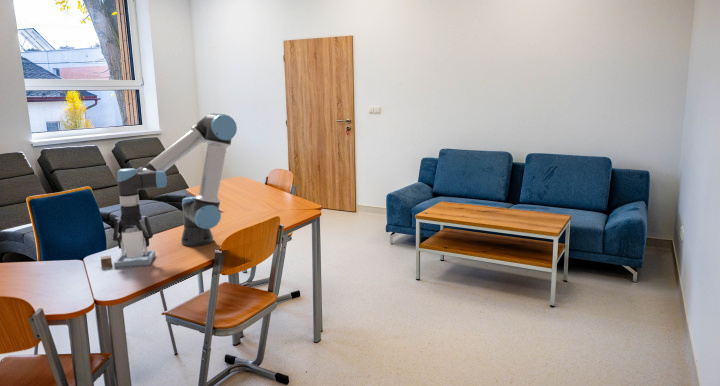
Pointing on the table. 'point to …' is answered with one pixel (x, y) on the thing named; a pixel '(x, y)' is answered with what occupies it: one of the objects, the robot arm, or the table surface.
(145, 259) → the tray
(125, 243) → the cup
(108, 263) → the walnut block
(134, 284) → the table surface
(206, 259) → the table surface
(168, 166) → the robot arm
